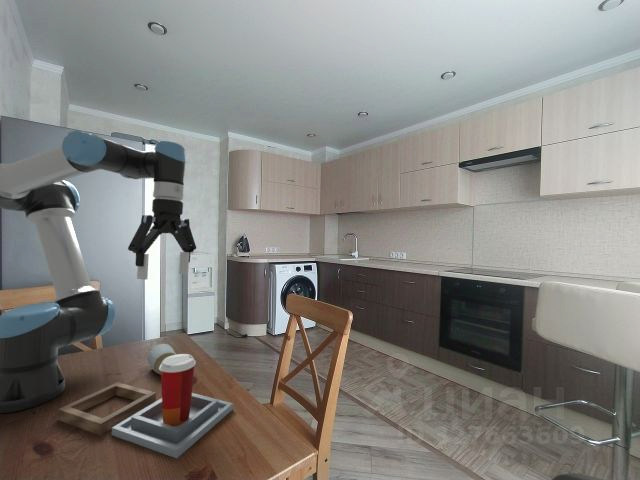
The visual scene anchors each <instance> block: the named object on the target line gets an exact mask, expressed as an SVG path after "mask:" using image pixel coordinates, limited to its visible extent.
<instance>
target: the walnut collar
mask: <svg viewBox="0 0 640 480" xmlns="http://www.w3.org/2000/svg"><path fill="white" fill-rule="evenodd" d="M114 396H118V397H121V398H124V399H129V400H131V401H132V402H130V403H129V404H127V405H125V406H123V407H121V408H120V409H118V410H116V411H113V413H112V412H111V413H110V414H109V415H107V416H105V417H100V416H97V415H94V414H91V413H88V412H85V411H86V410H88V409H91V408H92V407H94V406H97V405H98V404H101V403H103V402H104V401H106V400H108V399H111V398H112V397H114ZM156 401H157V392H154V391H151V390H147V389H144V388H140V387H137V386H133V385H129V384H126V383H121V382H118V381H117V382H115V383H113V384H110V385H109V386H107V387H104V388H102V389H100V390H98V391H95V392H93V393H90V394H89V395H86V396H84V397H82V398H79V399H77V400H76V401H72V402H71V403H68V404H67V405H64V406H62V407H59V408H58V413H57V421H60V422H61V423H62V422H63V423H65V424H68V425H70V426H74V427H75V428H79V429H81V430H84V431H87V432H90V433H92V434H95V435H98V436H103V435H104V434H105V433H107V432H109V431H111V430H112V427H114V426H115V425H117V424H119V423H121V422H122V421H124V420H126V419H127V418H129V417H131V416H132V415H134V414H136V413H137V412H139V411H141V410H142V409H144V408H146V407H148V406H149V405H151V404H153V403H154V402H156Z"/></svg>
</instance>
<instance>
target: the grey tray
mask: <svg viewBox="0 0 640 480" xmlns="http://www.w3.org/2000/svg"><path fill="white" fill-rule="evenodd" d="M233 406H234V404H233V402H230V401H225V400H221V399H218V398H215V397H209V396H206V395H202V394H199V393H195V392H192V396H191V406H190V414H189V418H188V420H187V421H186V422H184V423H183V424H180V425H177V426H170V425H167V424H164V423H163V414H162V397H161V398H159V399H158V400H156V402H154V403H153V404H151V405H149V406H148V407H146V408H144V409H142V410H141V411H139V412H137V413H136V414H134V415H132V416H131V417H129V418H127V419H126V420H124V421H122V422H121V423H119V424H117V425H115V426H114V427H112V429H111V436H114V437H115V438H119V439H122V440H124V441H127V442H129V441H130V443H132V442H133V444H135V445H138V446H140V447H144V448H146V449H149V450H152V451H155V452H156V453H157V452H158V453H160V454H162V455H163V454H164V455H165V456H168V457H172V458H174V459H179V457H180V456H182V455H183V454H184V453H185V452H186V451H187V450H189V448H190V447H192V446H193V445H195V443H196V442H197V441H199V440H200V439H201V438H202V437H203V436H204V435H206V434H207V433H208V432H209V431H210V430H211V429H213V427H215V426H216V425H217V424H218V423H220V421H222V419H224V418H225V417H226V416H227V415H228V414H229V413H230V412H232V411H233V409H234V408H233Z"/></svg>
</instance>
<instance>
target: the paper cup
mask: <svg viewBox="0 0 640 480" xmlns="http://www.w3.org/2000/svg"><path fill="white" fill-rule="evenodd" d="M176 354H177V355H172V356H169V357H167V358H165V359H164V360H163V362H162V363H161V365H160V367H159V370H160V371H161V375H160V377H161V378H160V379H161V380H160V381H161V382H160V383H161V398H162V414H163V423H164V424H167V425H170V426H177V425H180V424H183V423H184V422H186V421H187V420H188V418H189V414H190V406H191V396H192V393H193V387H194V386H193V385H194V374H195V373H194V372H195V366H196V365H197V363H196V362H197V361H196V360H195V358H194V356H192V354H188V353H180V354H179V353H176Z"/></svg>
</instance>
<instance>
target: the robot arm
mask: <svg viewBox="0 0 640 480" xmlns="http://www.w3.org/2000/svg"><path fill="white" fill-rule="evenodd" d="M153 149H154V150H149V151H147V150H146V151H145V150H144V151H142V150H138V149H135V148H133V147H129V146H127V145H124V144H120V143H117V142H115V141H112V140H109V139H107V138H103V137H101V136H98V135H97V134H94V133H91V132H86V131H83V130H72V131H70V132H68V133H67V135H66V136H64V138H63V141H62V143H61V145H60V146H57V147H55V148H52V149H49V150H46V151H44V152H41V153H38V154H34V155H32V156H29V157H25V158H23V159H21V160H18V161H15V162H11V163H10V164H9V163H0V209H1V210H8V211H16V212H17V211H18V212H24V213H25V218H26V220H27V222H29V223H30V224H34V225H35V227H36V232H37V234H38V237H39V240H40V244H41V247H42V251H43V255H44V258H45V261H46V265H47V269H48V272H49V274H50V278H51V281H52V285H53V288H54V292H55V295H56V296H55V298H54V300H53V301H50V302H49V301H46V302H45V301H43V302H38V303H29V304H25V305H22V306H17V307H14V308H11V309H9V310H6V311H4V312H3V313H2V314H1V315H0V414H7V413H13V412H18V411H22V410H23V411H24V410H27V409H31V408H33V407H37V406H39V405H40V406H41V405H42V404H44V403H47V402H49V401H52V400H53V399H55V398H58V396H60V395H61V394H62V393H63V392H64V391H65V389H66V379H65V376H64V374H63V372H62V369H61V367H60V364H59V362H58V356H59V355H58V353H59V349H61V348H64V347H68V346H69V345H70V346H71V345H72V344H76V343H80V342H84V341H88V340H92V339H94V338H96V337H98V336H101V335H104V334H105V333H107V332H108V331H109V330H110V329H111V328H112V326H113V324H114V322H115V319H116V308H115V304H114V303H113V301H112V300H110V299H109V298H107V297H103V296H102V295H101V292H100V290H99V289H97V288H94V287H93V286H92V283H91V280H90V276H89V273H88V270H87V266H86V264H85V260H84V257H83V254H82V252H81V247H80V244H79V241H78V239H77V238H78V237H77V234H76V232H75V229H74V226H73V221H72V219H73V218H74V217H75V215H76V212H77V211H78V209H79V207H80V204H79V203H80V201H81V200H80V195H79V192H78V190H77V188H76V186H74V185H73V184H72V183H71V182H69V181H67V180H68V179H72V178H75V177H77V176H81V175H84V174H89V173H90V172H95V171H98V170H103V171H107V172H111V173H115V174H119V175H120V176H121V177H123V178H126V179H133V180H142V179H143V180H144V179H145V180H146V179H151V180H152V179H153V182H152V184H153V185H152V197H153V198H154V199H153V200H152V204H151V205H152V208H151V211H152V212H153V215H152V214H151V215H150V214H143V215H141V218H140V219H141V221H140V224H139V226H138V228H137V230H136V232H135V234H134V235H133V237H132V239H131V241H130V243H129V245H128V247H127V250H128V251H131V252H132V253H133V254H135V263H134V264H135V266H136V267H137V272H136V279H138V280H144V281H145V280H148V275H149V274H148V273H149V272H148V271H149V256H150V255H149V253H146V252H148V250H149V249H150V248H151V247H152V245H153V244H154V242H156V240H157V239H158V238H159V236H161V235H162V234H170V235H172V236H173V237H174V239H175V241H176V242H177V244H178V245H179V248H180V249H181V250H182V251H180V252H179V273H178V274H180V275H189V267H190V265H189V263H191V253H193V252H194V251H195V250H197V246H196V242H195V239H194V237H193V233H192V230H191V227H190V226H191V225H190V219H189V218H181V216H182V215H183V212H184V211H183V210H184V203H183V201H182V200H184V187H185V186H184V185H185V172H186V171H185V170H186V163H187V162H186V149H185V147H184V146H183V145H181V144H180V143H177V142H173V141H168V140H159V141H157V142H156V143H155V146H154V148H153Z"/></svg>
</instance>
